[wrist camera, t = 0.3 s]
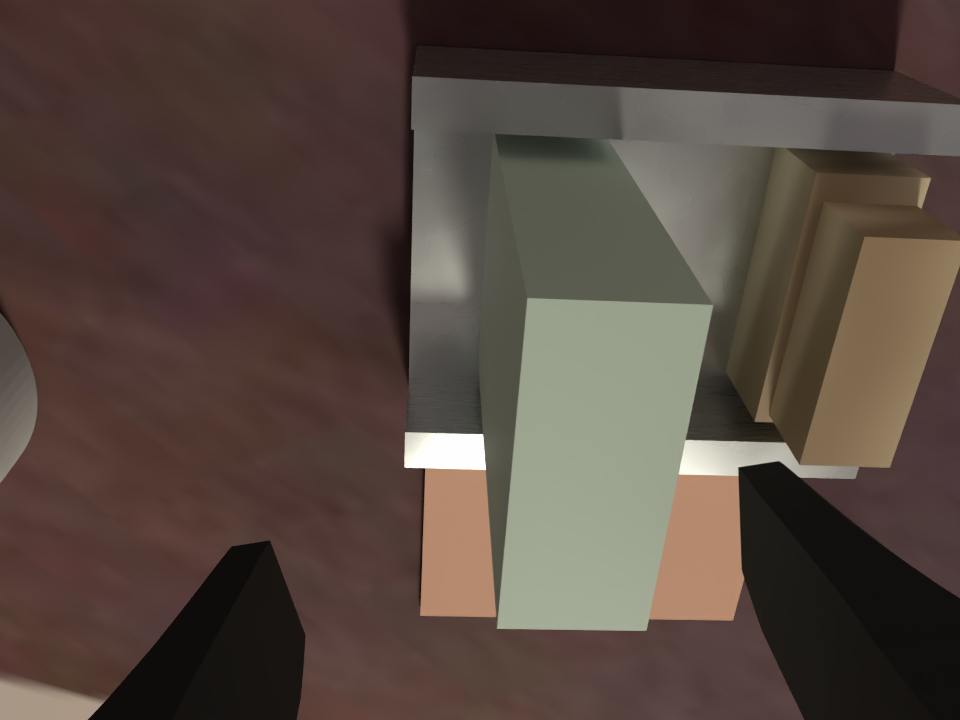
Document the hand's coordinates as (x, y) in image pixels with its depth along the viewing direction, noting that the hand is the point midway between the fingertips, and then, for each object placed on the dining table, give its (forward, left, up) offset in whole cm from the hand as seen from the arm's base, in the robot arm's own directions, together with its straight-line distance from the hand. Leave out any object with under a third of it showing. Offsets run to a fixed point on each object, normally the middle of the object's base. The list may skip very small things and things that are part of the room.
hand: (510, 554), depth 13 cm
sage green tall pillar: (-1, -1, -9) cm, 9 cm away
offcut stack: (-8, -1, -9) cm, 12 cm away
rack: (-4, -1, -10) cm, 11 cm away
